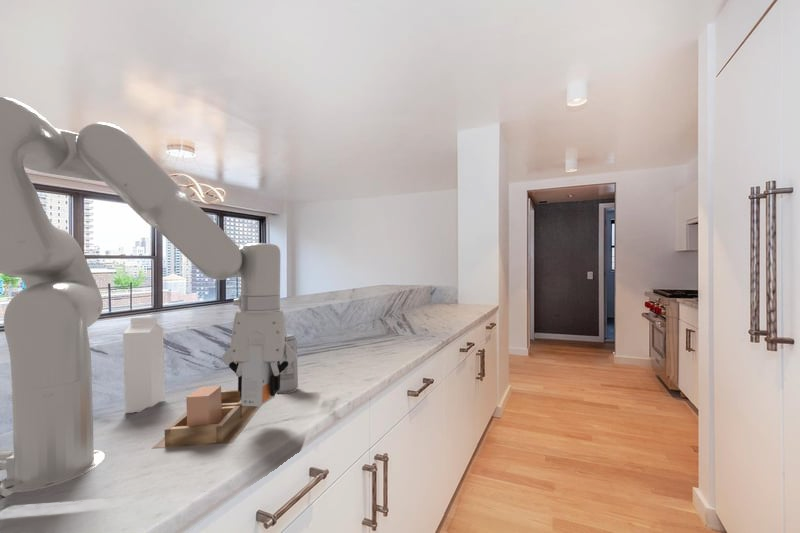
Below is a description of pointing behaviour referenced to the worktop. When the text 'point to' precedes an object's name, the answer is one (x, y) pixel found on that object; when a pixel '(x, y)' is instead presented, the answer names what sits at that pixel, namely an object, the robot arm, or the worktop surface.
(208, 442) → the socket board
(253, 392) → the skincare box
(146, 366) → the milk
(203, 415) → the terracotta block
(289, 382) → the energy drink can
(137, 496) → the worktop surface
